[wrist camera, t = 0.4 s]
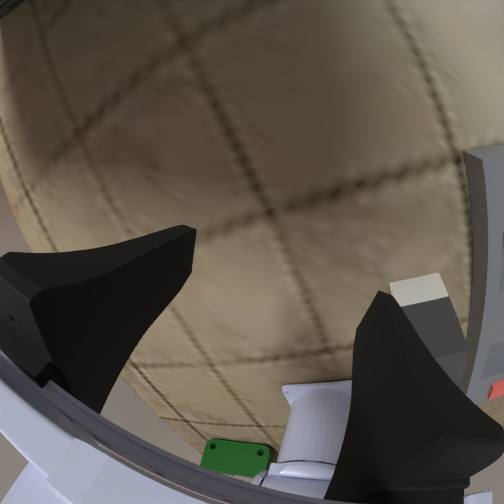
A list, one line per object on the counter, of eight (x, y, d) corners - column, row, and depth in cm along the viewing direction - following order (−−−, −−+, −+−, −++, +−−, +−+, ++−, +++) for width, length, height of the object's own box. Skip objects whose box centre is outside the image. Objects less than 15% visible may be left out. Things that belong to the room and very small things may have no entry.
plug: (439, 303, 19) (461, 382, 13) (393, 313, 21) (401, 395, 14) (438, 272, 18) (468, 350, 12) (389, 282, 20) (401, 365, 13)
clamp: (238, 430, 46) (210, 467, 41) (222, 420, 43) (192, 461, 38) (292, 459, 38) (262, 501, 34) (281, 453, 35) (247, 500, 30)
